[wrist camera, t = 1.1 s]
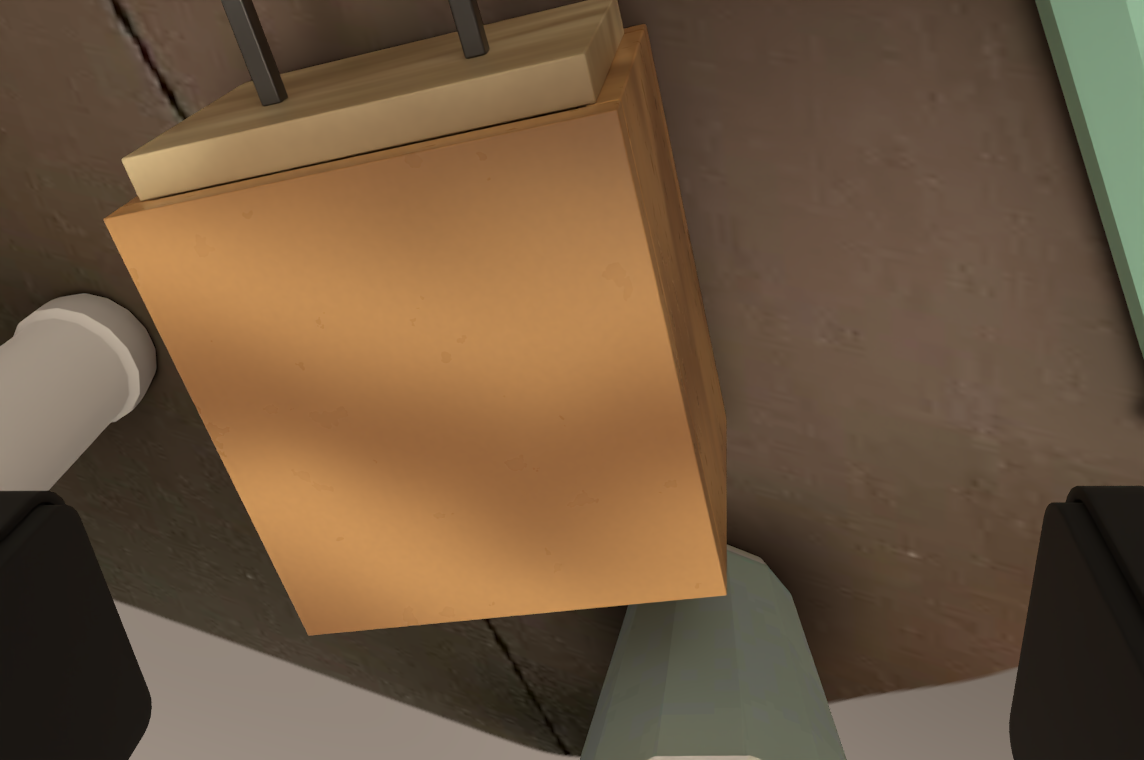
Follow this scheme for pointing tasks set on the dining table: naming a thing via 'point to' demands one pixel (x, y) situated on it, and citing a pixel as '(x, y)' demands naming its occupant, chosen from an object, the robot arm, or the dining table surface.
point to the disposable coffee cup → (715, 679)
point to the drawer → (382, 95)
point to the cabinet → (457, 366)
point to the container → (1107, 120)
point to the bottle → (67, 385)
